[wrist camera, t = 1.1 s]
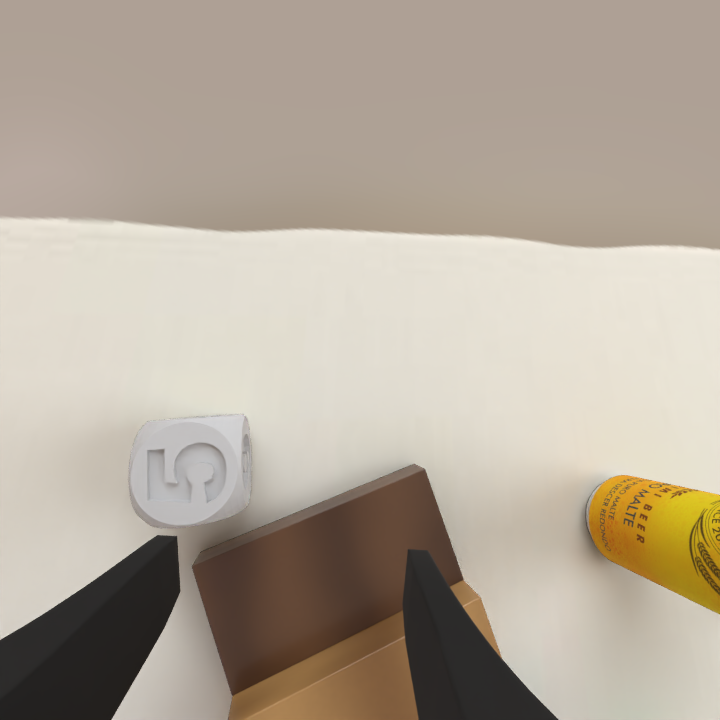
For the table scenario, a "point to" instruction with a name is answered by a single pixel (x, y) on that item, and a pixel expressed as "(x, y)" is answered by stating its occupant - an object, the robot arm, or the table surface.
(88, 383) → the table surface
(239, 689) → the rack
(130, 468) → the die
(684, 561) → the beer can
